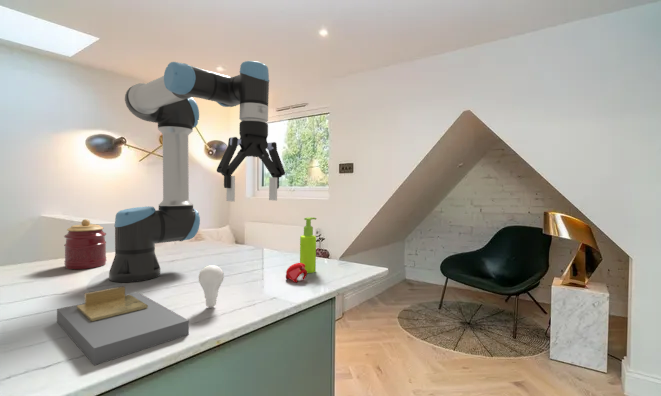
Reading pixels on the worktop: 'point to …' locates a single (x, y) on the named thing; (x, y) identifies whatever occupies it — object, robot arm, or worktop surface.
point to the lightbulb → (211, 283)
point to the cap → (296, 271)
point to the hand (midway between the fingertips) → (252, 200)
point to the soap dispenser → (308, 247)
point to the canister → (85, 246)
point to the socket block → (122, 330)
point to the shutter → (109, 303)
